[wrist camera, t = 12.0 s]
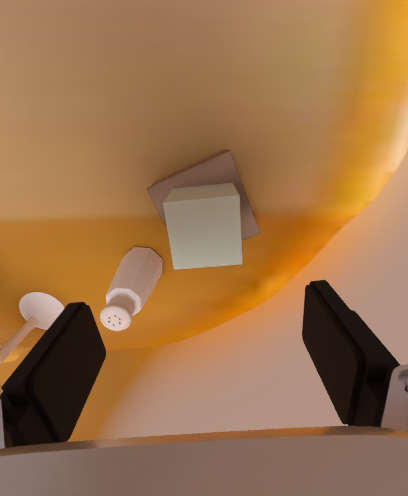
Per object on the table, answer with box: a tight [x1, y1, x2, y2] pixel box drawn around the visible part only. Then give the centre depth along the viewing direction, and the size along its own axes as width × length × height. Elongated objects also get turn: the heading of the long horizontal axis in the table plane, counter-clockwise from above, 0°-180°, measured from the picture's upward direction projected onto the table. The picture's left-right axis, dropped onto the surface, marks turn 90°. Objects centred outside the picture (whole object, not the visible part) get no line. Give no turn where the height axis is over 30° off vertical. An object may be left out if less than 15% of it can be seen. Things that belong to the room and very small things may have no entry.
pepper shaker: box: [100, 247, 162, 331], centre depth 28 cm, size 5×5×11 cm
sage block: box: [163, 183, 242, 270], centre depth 23 cm, size 6×6×6 cm
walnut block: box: [147, 150, 260, 240], centre depth 28 cm, size 9×9×4 cm
